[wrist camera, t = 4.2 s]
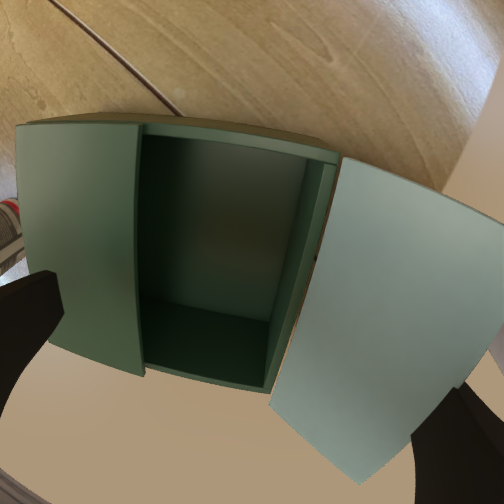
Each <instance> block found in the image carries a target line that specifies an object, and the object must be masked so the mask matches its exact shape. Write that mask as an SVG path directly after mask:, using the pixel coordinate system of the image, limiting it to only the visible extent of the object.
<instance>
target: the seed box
mask: <svg viewBox="0 0 504 504" xmlns="http://www.w3.org/2000/svg"><path fill="white" fill-rule="evenodd" d="M340 154H341V153H340V152H339V151H337V150H336V149H334V148H333V147H331V146H330V145H328V144H327V143H325V142H323V141H322V140H320V139H319V138H315V137H310V136H306V135H301V134H296V133H291V132H286V131H281V130H276V129H270V128H265V127H259V126H253V125H247V124H240V123H233V122H226V121H218V120H210V119H202V118H192V117H182V116H170V115H155V114H136V113H87V114H78V115H69V116H62V117H54V118H48V119H41V120H35V121H30V122H26V124H20V125H16V133H15V158H16V182H17V195H18V206H19V215H20V223H21V230H22V237H23V243H24V249H25V254H26V259H27V264H28V269H29V274H30V275H31V274H33V273H36V272H39V271H43V270H49V271H52V272H55V273H56V274H57V279H58V284H59V289H60V294H61V299H62V303H63V308H64V312H65V314H64V315H63V317H62V319H61V321H60V322H59V324H58V326H57V327H56V329H55V330H54V332H53V333H52V335H51V336H50V337H49V338H48V341H49V343H51V344H53V345H56V346H58V347H61V348H63V349H65V350H68V351H70V352H72V353H75V354H78V355H80V356H83V357H85V358H88V359H90V360H93V361H96V362H99V363H102V364H104V365H107V366H110V367H113V368H116V369H119V370H122V371H125V372H128V373H131V374H134V375H138V376H141V377H144V375H145V373H146V371H145V367H147V368H150V369H154V370H157V371H161V372H165V373H169V374H172V375H176V376H180V377H184V378H188V379H192V380H197V381H201V382H206V383H210V384H215V385H220V386H225V387H230V388H235V389H241V390H246V391H252V392H258V393H265V394H270V393H271V390H272V387H273V385H274V382H275V379H276V377H277V374H278V371H279V368H280V365H281V362H282V359H283V356H284V353H285V350H286V347H287V344H288V341H289V338H290V335H291V332H292V329H293V326H294V323H295V320H296V317H297V313H298V310H299V307H300V304H301V301H302V297H303V294H304V291H305V287H306V284H307V281H308V277H309V274H310V270H311V267H312V264H313V260H314V257H315V253H316V249H317V246H318V242H319V239H320V235H321V231H322V227H323V224H324V220H325V216H326V212H327V208H328V204H329V200H330V196H331V192H332V188H333V184H334V180H335V176H336V172H337V165H338V163H339V159H340Z"/></svg>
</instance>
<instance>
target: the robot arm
mask: <svg viewBox="0 0 504 504" xmlns="http://www.w3.org/2000/svg"><path fill="white" fill-rule="evenodd" d="M64 314H65V312H64V308H63V303H62V299H61V294H60V289H59V284H58V279H57V274H56V273H55V272H52V271H49V270H43V271H39V272H36V273H33V274H31V275H28V276H25V277H23V278H20V279H18V280H15V281H13V282H10V283H8V284H6V285H3V286H1V287H0V417H1V414H2V412H3V409H4V406H5V404H6V402H7V400H8V398H9V395H10V393H11V391H12V389H13V387H14V385H15V384H16V382H17V380H18V378H19V377H20V375H21V373H22V372H23V370H24V369H25V367H26V366H27V365H28V364H29V362H30V361H31V360H32V358H33V357H34V356H35V354H36V353H37V352H38V351H39V350H40V348H41V347H42V346H43V345H44V343H45V342H46V341H47V340H48V338H49V337H50V336H51V335H52V333H53V332H54V330H55V329H56V327H57V326H58V324H59V322H60V321H61V319H62V317H63V315H64ZM488 350H489V352H490V353H491V355H492V357H493V358H494V360H495V362H496V363H497V365H498V367H499V368H500V370H501V372H502V374H503V375H504V324H503V326H502V327H501V329H500V331H499V332H498V334H497V335H496V337H495V339H494V340H493V342H492V343H491V345H490V346H489V348H488ZM410 437H411V442H412V447H413V453H414V459H415V473H416V474H415V475H416V476H415V478H416V487H415V504H504V422H503V421H502V420H501V419H500V418H499V417H497V416H496V415H495V414H494V413H493V412H492V411H491V410H490V409H489V408H488V407H487V405H485V403H484V402H483V401H482V400H481V399H480V398H479V397H478V396H477V395H476V394H475V392H473V390H472V389H471V388H470V387H469V385H468V384H467V383H466V382H465V381H464V382H463V384H462V385H461V386H460V388H459V389H457V388H455V387H452V389H451V390H450V391H449V392H448V394H447V395H446V396H445V397H444V399H443V400H442V401H441V402H440V403H439V404H438V406H437V407H436V408H435V409H434V410H433V411H432V412H431V414H430V415H429V416H428V417H427V418H426V419H425V420H424V421H423V422H422V423H421V425H420V426H419V427H418V428H417V429H416V430H415V431H414V432H413V433H412V434H411V435H410ZM0 504H51V503H49V502H47V501H46V500H44V499H43V498H41V497H40V496H38V495H36V494H35V493H33V492H32V491H30V490H29V489H28V488H26V487H25V486H23V485H22V484H20V483H19V482H18V481H16V480H15V479H14V478H12V477H11V476H10V475H8V474H7V473H6V472H4V471H3V470H2V469H1V468H0Z"/></svg>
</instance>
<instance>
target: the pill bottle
mask: <svg viewBox="0 0 504 504" xmlns="http://www.w3.org/2000/svg"><path fill="white" fill-rule="evenodd" d="M25 256H26V254H25V249H24V243H23V237H22V230H21V223H20V215H19V206H18V201H17V200H15V199H6V200H3V201H2V202H0V276H1V275H3V274H4V273H5V272H6V271H8V270H9V269H10V268H11V267H13V266H14V265H15V264H16V263H18V262H19V261H20V260H22V259H23V258H24V257H25Z"/></svg>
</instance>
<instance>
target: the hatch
mask: <svg viewBox="0 0 504 504" xmlns="http://www.w3.org/2000/svg"><path fill="white" fill-rule="evenodd" d="M503 324H504V224H502V223H500V222H499V221H497V220H495V219H493V218H491V217H490V216H488V215H486V214H484V213H482V212H480V211H478V210H476V209H474V208H472V207H470V206H468V205H466V204H464V203H461V202H459V201H457V200H455V199H453V198H451V197H449V196H447V195H444V194H442V193H440V192H438V191H435V190H433V189H431V188H429V187H426V186H424V185H422V184H419V183H417V182H414V181H412V180H409V179H407V178H404V177H402V176H399V175H397V174H394V173H392V172H389V171H386V170H384V169H381V168H378V167H376V166H373V165H370V164H367V163H364V162H361V161H359V160H356V159H353V158H350V157H343V161H342V165H341V169H340V174H339V178H338V182H337V186H336V190H335V194H334V198H333V202H332V206H331V210H330V213H329V217H328V221H327V225H326V228H325V232H324V236H323V239H322V243H321V247H320V250H319V254H318V257H317V261H316V264H315V267H314V271H313V274H312V278H311V281H310V284H309V287H308V291H307V294H306V297H305V300H304V304H303V307H302V310H301V313H300V316H299V319H298V322H297V325H296V328H295V331H294V334H293V337H292V340H291V343H290V346H289V349H288V352H287V355H286V358H285V361H284V364H283V366H282V369H281V372H280V375H279V378H278V380H277V383H276V386H275V389H274V391H273V394H272V397H271V400H270V402H269V406H270V407H271V408H272V409H273V410H274V411H275V412H276V413H277V414H278V415H279V416H280V417H281V418H282V419H283V420H285V421H286V422H287V423H288V424H289V425H290V426H291V427H292V428H293V429H294V430H295V431H296V432H297V433H299V434H300V435H301V436H302V437H303V438H304V439H305V440H306V441H307V442H308V443H309V444H311V445H312V446H313V447H314V448H315V449H316V450H317V451H318V452H320V453H321V454H322V455H323V456H324V457H325V458H327V459H328V460H329V461H330V462H331V463H333V464H334V465H335V466H336V467H337V468H338V469H340V470H341V471H342V472H343V473H344V474H346V475H347V476H348V477H349V478H351V479H352V480H353V481H354V482H356V483H357V484H358V485H360V484H362V483H363V482H364V481H366V480H367V479H368V478H369V477H371V476H372V475H373V474H374V473H376V472H377V471H378V470H379V469H381V468H382V467H383V466H384V465H385V464H386V463H387V462H389V461H390V460H391V459H392V458H393V457H394V456H395V455H396V454H398V453H399V452H400V451H401V450H402V449H403V448H404V447H405V446H406V445H407V444H408V443H409V442H410V441H411V437H410V435H411V434H412V433H413V432H414V431H415V430H416V429H417V428H418V427H419V426H420V425H421V423H422V422H423V421H424V420H425V419H426V418H427V417H428V416H429V415H430V414H431V412H432V411H433V410H434V409H435V408H436V407H437V406H438V404H439V403H440V402H441V401H442V400H443V399H444V397H445V396H446V395H447V394H448V392H449V391H450V390H451V389H452V387H455V388H457V389H459V388H460V386H461V385H462V384H463V382H464V381H465V380H466V379H467V377H468V376H469V375H470V373H471V372H472V371H473V369H474V368H475V367H476V365H477V364H478V362H479V361H480V359H481V358H482V357H483V355H484V354H485V352H486V351H487V349H488V348H489V346H490V345H491V343H492V342H493V340H494V339H495V337H496V335H497V334H498V332H499V331H500V329H501V327H502V326H503Z"/></svg>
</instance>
